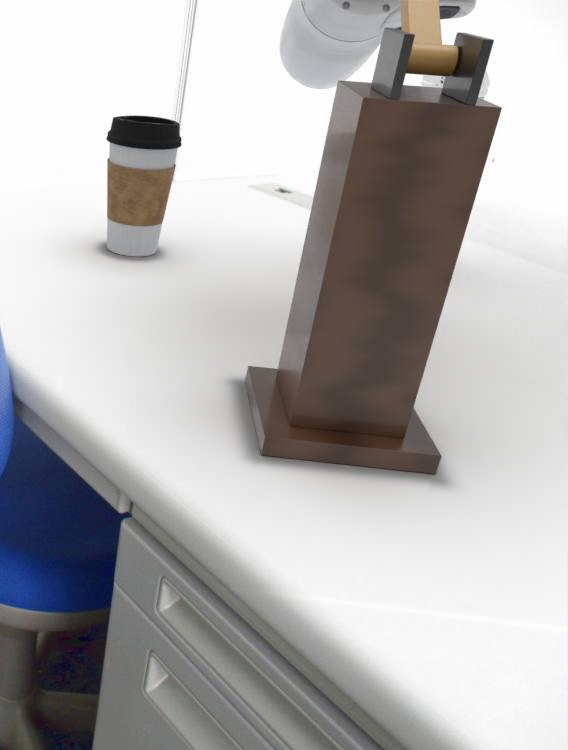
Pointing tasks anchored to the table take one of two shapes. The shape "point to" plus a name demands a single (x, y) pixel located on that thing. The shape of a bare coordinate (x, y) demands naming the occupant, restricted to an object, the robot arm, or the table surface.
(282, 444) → the pedestal
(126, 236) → the coffee cup
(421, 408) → the table surface
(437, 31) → the lever
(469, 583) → the table surface
